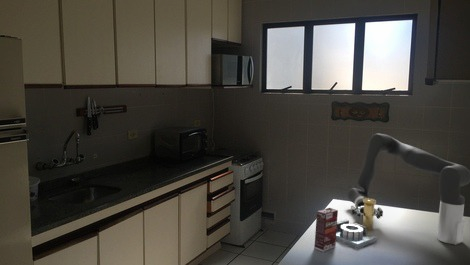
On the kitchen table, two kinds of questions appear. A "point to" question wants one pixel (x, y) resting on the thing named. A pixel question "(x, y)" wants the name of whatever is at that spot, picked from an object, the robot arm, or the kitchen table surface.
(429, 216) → the kitchen table surface
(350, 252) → the kitchen table surface
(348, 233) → the jig
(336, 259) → the kitchen table surface
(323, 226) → the supplement box
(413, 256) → the kitchen table surface
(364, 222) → the bushing
